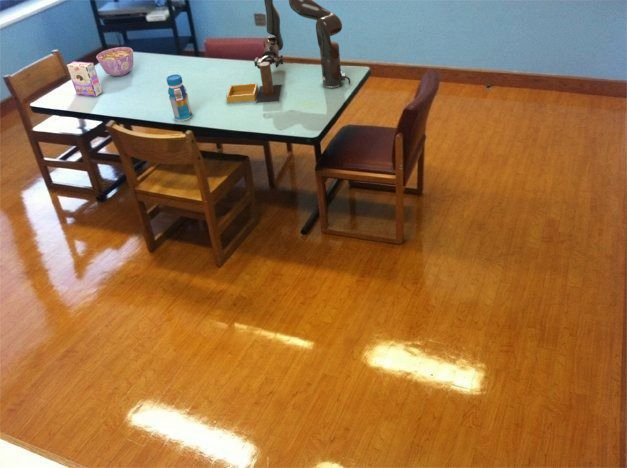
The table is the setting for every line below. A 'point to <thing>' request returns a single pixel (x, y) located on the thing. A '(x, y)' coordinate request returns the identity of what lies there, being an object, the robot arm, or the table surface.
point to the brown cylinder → (266, 78)
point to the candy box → (84, 78)
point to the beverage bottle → (178, 98)
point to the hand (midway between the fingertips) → (267, 66)
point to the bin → (242, 92)
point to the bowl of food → (116, 60)
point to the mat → (271, 98)
